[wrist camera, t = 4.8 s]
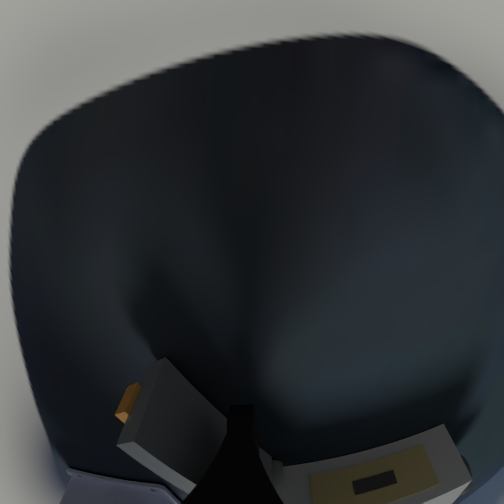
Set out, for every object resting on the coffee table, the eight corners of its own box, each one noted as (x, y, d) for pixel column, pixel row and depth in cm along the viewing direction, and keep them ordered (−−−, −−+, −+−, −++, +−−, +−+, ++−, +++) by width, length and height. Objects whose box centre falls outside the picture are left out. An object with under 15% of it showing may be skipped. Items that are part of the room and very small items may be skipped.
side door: (286, 465, 14) (291, 528, 10) (262, 472, 14) (263, 533, 10) (165, 352, 11) (132, 436, 7) (138, 364, 11) (102, 443, 7)
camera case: (275, 509, 17) (277, 559, 12) (257, 467, 14) (257, 537, 10) (439, 467, 16) (457, 510, 11) (468, 410, 14) (499, 462, 9)
